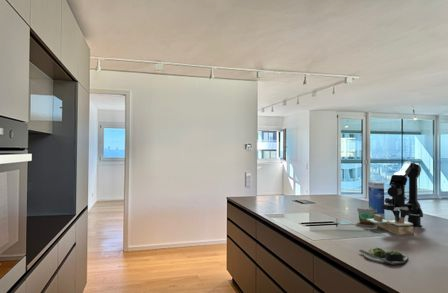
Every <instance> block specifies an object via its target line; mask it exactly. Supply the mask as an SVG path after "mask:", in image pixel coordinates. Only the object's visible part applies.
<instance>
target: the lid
mask: <svg viewBox="0 0 448 293" xmlns="http://www.w3.org/2000/svg"><path fill="white" fill-rule="evenodd" d="M387 222H389V223H392V224H395V225H398V226H402V225H413V223H410V222H408V221H407V220H405V218H403V217H401V215H399V221H398V222H397V221H396V218H395V217H394V219H392V220H387Z"/></svg>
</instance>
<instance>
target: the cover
mask: <svg viewBox="0 0 448 293" xmlns="http://www.w3.org/2000/svg"><path fill="white" fill-rule="evenodd" d="M384 219H385V218H383V216H380V215H377V214H374V219H366V220H368V221H370V222H373V223H375V224H377V223H389V222H387V220H384Z"/></svg>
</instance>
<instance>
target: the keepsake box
mask: <svg viewBox="0 0 448 293" xmlns="http://www.w3.org/2000/svg"><path fill="white" fill-rule="evenodd" d="M383 219H384V220H393V219H392V218H391V219H388V218H387V219H386V218H383ZM376 227H377V228H379V229H382V230H384V231H387V232H389V233H391V234H394V235H396V236H411V235H413V236H414V235H415V230H414V229H415V227H413V226H410V225H402V227H399V226H398V225H395V224H392V223H376Z"/></svg>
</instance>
